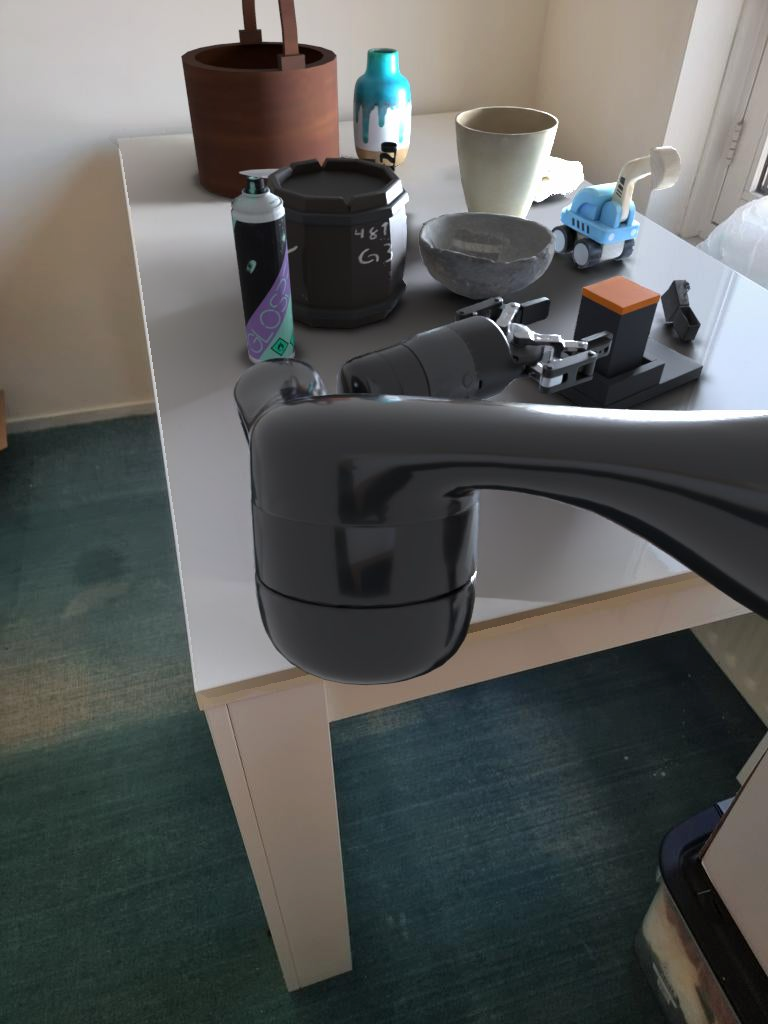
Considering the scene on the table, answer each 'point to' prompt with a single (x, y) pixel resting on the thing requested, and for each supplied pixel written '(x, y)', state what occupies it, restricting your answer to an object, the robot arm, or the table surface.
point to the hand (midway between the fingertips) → (577, 323)
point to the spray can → (263, 271)
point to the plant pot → (503, 157)
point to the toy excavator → (612, 210)
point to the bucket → (260, 103)
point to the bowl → (485, 252)
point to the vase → (382, 107)
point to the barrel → (343, 239)
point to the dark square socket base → (634, 379)
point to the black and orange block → (617, 321)
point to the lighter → (680, 310)
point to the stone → (559, 178)
